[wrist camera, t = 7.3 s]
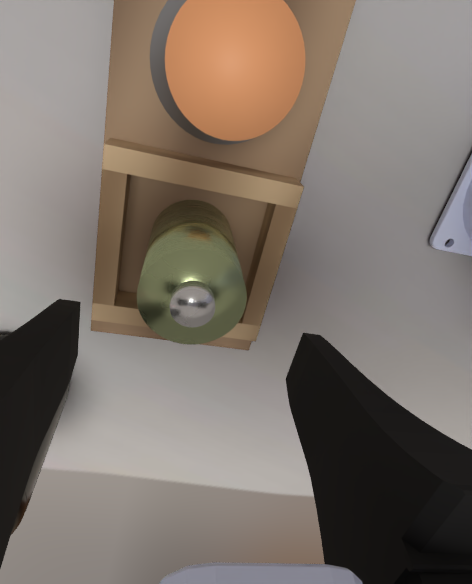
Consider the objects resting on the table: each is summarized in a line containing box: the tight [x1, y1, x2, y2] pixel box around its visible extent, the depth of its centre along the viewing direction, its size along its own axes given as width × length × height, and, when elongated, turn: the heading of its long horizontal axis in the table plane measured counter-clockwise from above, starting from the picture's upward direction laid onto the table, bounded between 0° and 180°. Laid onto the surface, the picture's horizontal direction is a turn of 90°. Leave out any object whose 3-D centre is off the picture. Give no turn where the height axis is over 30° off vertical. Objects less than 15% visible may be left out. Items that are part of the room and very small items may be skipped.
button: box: [165, 0, 305, 141], centre depth 13 cm, size 4×4×2 cm
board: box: [91, 0, 356, 350], centre depth 18 cm, size 9×18×3 cm, turn 167°
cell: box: [137, 200, 247, 344], centre depth 17 cm, size 4×4×7 cm
